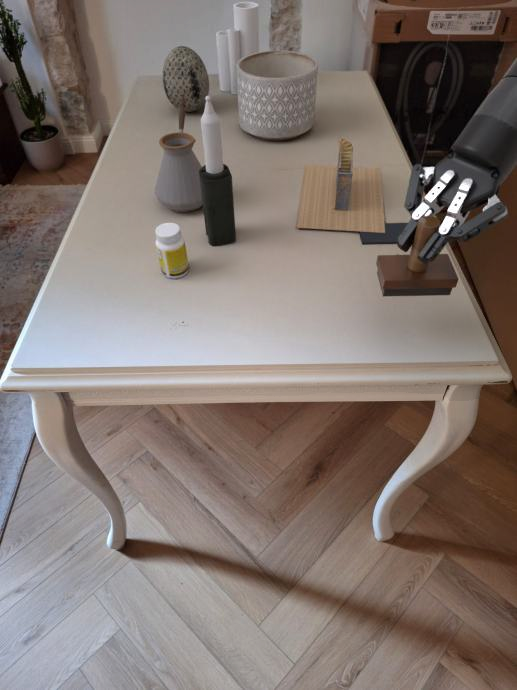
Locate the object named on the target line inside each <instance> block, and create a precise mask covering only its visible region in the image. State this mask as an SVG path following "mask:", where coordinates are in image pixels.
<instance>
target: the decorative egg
mask: <svg viewBox="0 0 517 690" xmlns="http://www.w3.org/2000/svg"><path fill="white" fill-rule="evenodd" d="M208 73H209V72H208V69H207V67H206V65H205V62H204V61H203V59H202V58H201V56H200V55H199V53H197V52H196V51H195V50H194V49H192V48H190V47H188V46H186V45H185V46H184V45H180V46H177V47H174V48H172V49H171V50H170V52H169V53H168V54H167V55H166V58H165V60H164V63H163V67H162V86H163V90H164V94H165V96H166V97H167V98H166V99H168V101H169V102H170V104H171V105H172V106H174V108H176V109H177V110H179V111H180V106H179V104H180V103H181V99H179V98H181V97H182V96H184V97H186V98H188V99H189V100H190V101H189V100H188V99H186V98H185V102H184V104H186V103H188V102H189V103H188V104H186V106H185V108H184V110H185V113H186V112H187V113H192V112H195V111H197V110H199V109H200V108H202V107H203V106H204V104H206V100H205V98H206V96H209V93H210V79H209V74H208ZM178 100H179V102H180V103H179V102H178Z"/></svg>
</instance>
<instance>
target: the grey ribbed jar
mask: <svg viewBox="0 0 517 690" xmlns="http://www.w3.org/2000/svg"><path fill="white" fill-rule="evenodd" d="M185 98H186V97H184V96H182V97H181V98H179V99H181V103H180V102H179V100H178V102H179V103H180V104H179V106H180V110H179V112H178V131H177V132H170V133H167V134H164V135H163V136H162V137H160V138H159V140H158V145H160V147H161V148H162V149H163V151H164V152H163V156H162V160H161V164H160V168H159V171H158V176H157V179H156V184H155V187H154V195H155V197H156V199H157V201H159V203H160V204H162V205H163V206H164V207H165V208H168V209H170V210H171V211H173V212H177V213H190V212H193V211H196V210H199V209H200V208H201V207H203V203H202V194H201V186H200V178H199V170H200V169H201V168H202V167H203V166H202V165H201V163H200V161H199V159H198V158H197V156H196V154H195V152H194V151H193V147H194V144H195V143H196V141H197V140H196V139H195V137H194V136H193V135H192V134H190V133H186V132H184V129H185V121H186V112H185V110H184V108H185V106H186V104H188V103H189V102H188V103H186V104H184V102H185ZM186 99H188V98H186ZM188 100H189V99H188ZM189 101H190V100H189Z"/></svg>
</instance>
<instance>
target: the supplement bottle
mask: <svg viewBox="0 0 517 690" xmlns="http://www.w3.org/2000/svg"><path fill="white" fill-rule="evenodd" d="M154 232H155V238H156V239H155V248H156V253H157V257H158V262H159V266H160V270H161V273H162V275H163V276H164V277H166V278H168V279H181V278H182V277H184V276H186V275H187V274H188V273H189V270H190V265H189V258H188V253H187V246H186V241H185V237H184V236H183V235H182V231H181V227H180V225H178V224H177V223H175V222H164V223H161V224H159V225H158V226H157V227H156V228H155V231H154Z"/></svg>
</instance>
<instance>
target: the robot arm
mask: <svg viewBox="0 0 517 690" xmlns="http://www.w3.org/2000/svg"><path fill="white" fill-rule="evenodd" d="M516 166H517V57H516V58H515V60H514V61H513V62H512V64H511V65H510V67H509V68H508V69H507V71H506V72H505V73H504V75H503V76H502V78H501V79H500V81H499V82H498V83H497V84H496V85H495V86H494V88H492V90H491V91H490V92H489V93H488V94H487V96H486V97H485V99H483V101H482V102H481V103H480V105H479V106H478V108H477V109H476V111H475V113H474V114H473V115H472V116H471V118H470V120H468V122H467V124H466V125H465V126H464V128H463V129H462V131H461V132H460V134H459V135H458V137H457V138H456V139H455V141H454V142H453V143H452V145H451V147H450V148H449V151H448V153H447V155H446V156H445V157H444V158H443V159H441V160H439V161H438V162H437V163H436V164H435V166H423V165H421V163H415V164H414V165H413V166H412V168H411V173H410V177H409V181H408V185H407V191H406V196H405V198H404V199H405V201H404V208H405V210H406V211H407V212H408V213H409V215H410V220H409V221H408V222H407V223H408V224H407V225H406V227H405V228H404V230H403V231H402V233H401V234H400V235H399V237H398V240H397V241H398V242H399V243H398V244H396V245H397V248H399V250H401V251H402V252H404V253H407V252H409V250H411V248H412V244H413V240H414V236H415V232H416V228H417V224H418V220H419V219H420V218H421V217H423V216H432V217H435V215H436V214H439V213H440V212H441V211H442V210H443V209H444V208H445V207H447V208H448V209H447V210H446V216H445V217H444V219H443V220H442V223H441V224H440V227H439V230H438V233H436V232H435V233H434V234H433V235H432V237H431V238H430V239H429V241H428V242H427V244H426V245H425V246H424V248H423V249H422V250H421V252H420V253H419V255H418V257H417V259H418V260H420V261H421V262H422V263H424V264H427V263H428V262H429V261H430V262H432V261H434V260H435V259H436V257H437V256H438V255H439V254H441V252H442V251H443V250H444V249H445V246H446V245H447V244H448V243H450V242H452V241H457V242H460V243H462V244H466V243H468V242H469V241H471V240H472V239H474V238H476V237H478V236H480V235H482V234H483V233H485V232H486V231H487V230H489V229H491V228H492V227H494V226H495V225H497V224H499V223H501V222H503V221H504V220H506V219H507V218H508V216H509V212H508V209H507V207H506V204H505V203H504V202H502V201H500V199H499V197H498V196H499V193H500V188H501V186H502V184H503V183H504V182H505V181H506V180H507V178H508V176H509V175H510V174H511V173H512V171H513V170H514V169H515V168H516ZM432 179H433V181H432V188H431V189H430V190H429V191H428V193H427V194H426V195H425V196H424V192H425V187H426V186H428V185H429V183H430V182H431V180H432ZM423 197H424V198H423ZM482 206H483V208H482V211H481V212H480V213H479V214H477V215H475V216H474V217H472V218H470V219H468V220H467V218H468V216H469V214H470V212H471V211H472V210H473V211H474V210H475V209H477V208H479V207H482ZM466 220H467V221H466Z"/></svg>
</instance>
